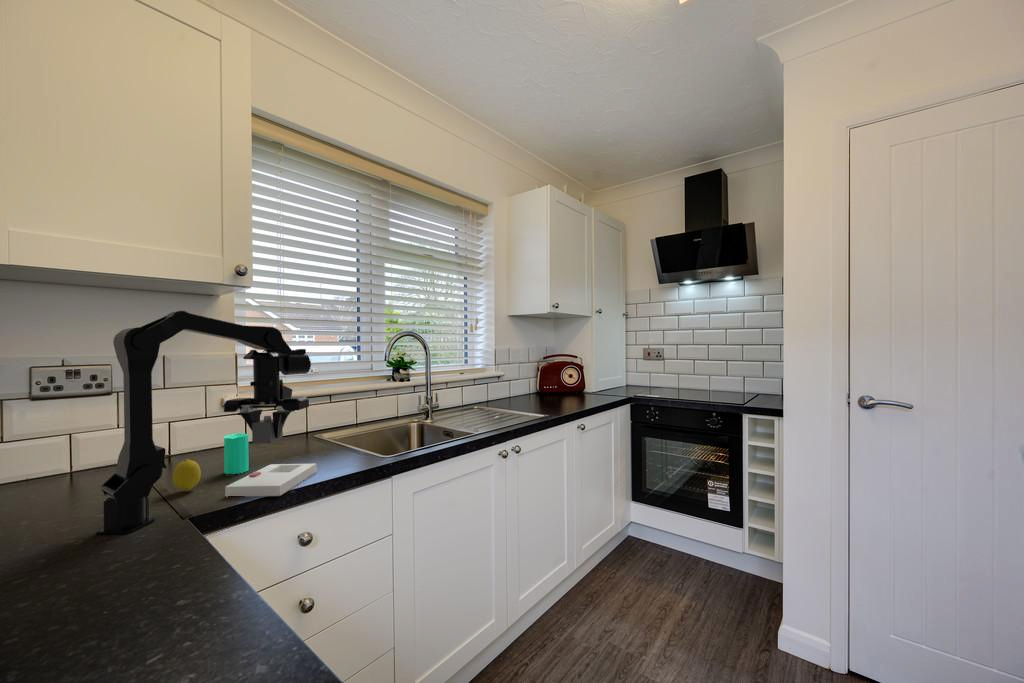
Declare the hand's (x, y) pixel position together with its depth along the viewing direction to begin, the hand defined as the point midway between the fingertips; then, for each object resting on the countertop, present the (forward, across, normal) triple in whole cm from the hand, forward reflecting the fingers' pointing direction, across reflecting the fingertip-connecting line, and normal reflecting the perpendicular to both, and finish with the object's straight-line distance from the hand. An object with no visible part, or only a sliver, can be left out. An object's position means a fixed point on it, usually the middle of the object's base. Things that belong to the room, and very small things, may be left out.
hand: (267, 438), depth 106 cm
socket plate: (+12, 0, -3) cm, 13 cm away
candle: (+13, +17, -14) cm, 26 cm away
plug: (+1, 0, 0) cm, 1 cm away
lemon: (+12, +19, +2) cm, 23 cm away
